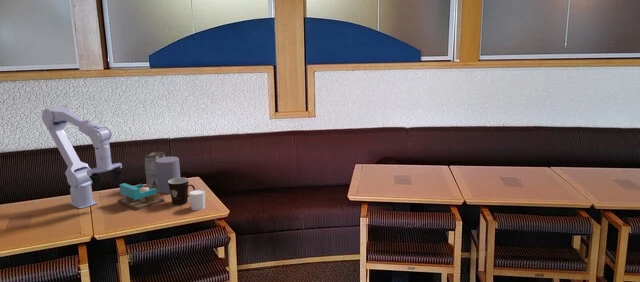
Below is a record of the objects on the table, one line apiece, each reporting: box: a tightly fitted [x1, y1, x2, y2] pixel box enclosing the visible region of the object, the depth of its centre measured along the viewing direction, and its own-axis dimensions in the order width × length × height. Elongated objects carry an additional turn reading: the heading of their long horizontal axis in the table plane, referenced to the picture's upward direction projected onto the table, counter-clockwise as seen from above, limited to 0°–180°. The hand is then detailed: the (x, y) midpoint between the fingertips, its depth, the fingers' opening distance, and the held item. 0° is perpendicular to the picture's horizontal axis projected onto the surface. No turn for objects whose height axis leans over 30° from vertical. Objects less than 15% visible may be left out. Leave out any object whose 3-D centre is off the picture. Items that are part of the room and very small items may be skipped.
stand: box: [117, 186, 165, 211], centre depth 230 cm, size 13×16×6 cm
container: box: [156, 156, 181, 195], centre depth 243 cm, size 10×10×15 cm
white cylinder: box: [188, 189, 206, 211], centre depth 221 cm, size 7×7×7 cm
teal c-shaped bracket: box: [118, 182, 158, 200], centre depth 228 cm, size 10×12×4 cm
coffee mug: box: [168, 177, 196, 206], centre depth 226 cm, size 12×9×10 cm
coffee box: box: [143, 151, 166, 190], centre depth 249 cm, size 9×6×16 cm
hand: (107, 187), depth 220 cm, fingers open, 7 cm apart
